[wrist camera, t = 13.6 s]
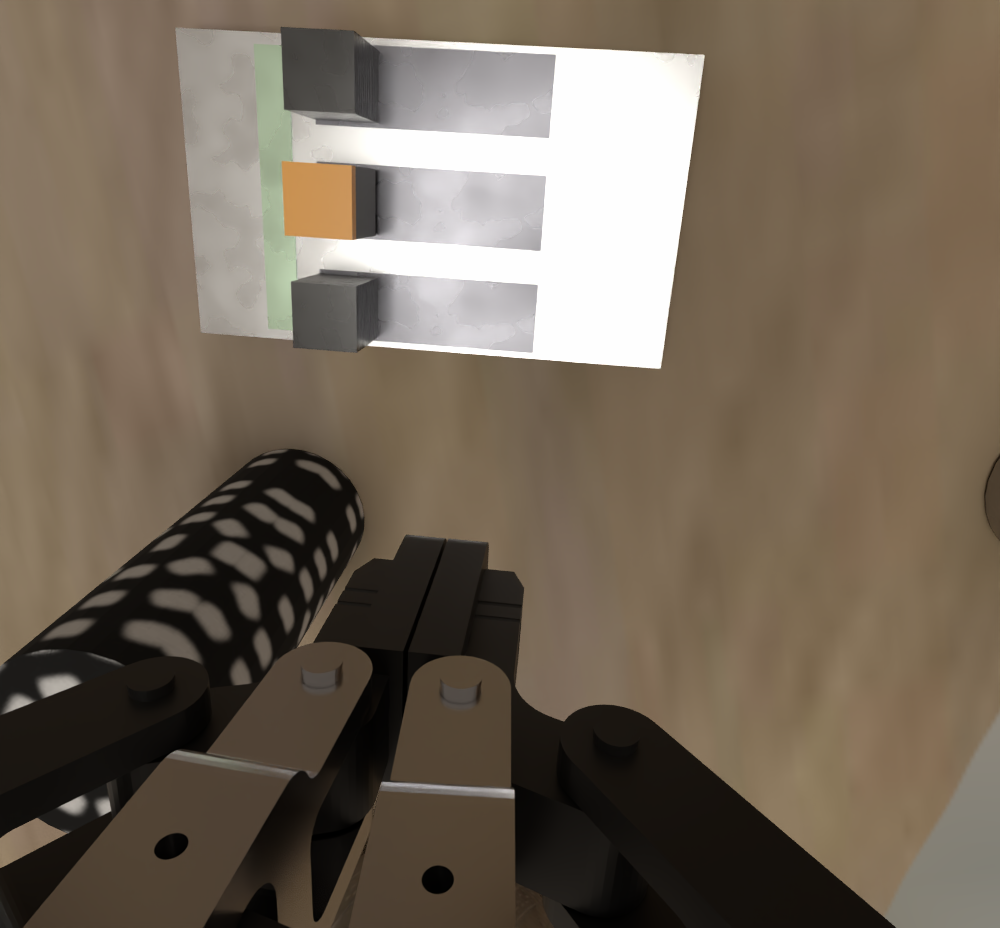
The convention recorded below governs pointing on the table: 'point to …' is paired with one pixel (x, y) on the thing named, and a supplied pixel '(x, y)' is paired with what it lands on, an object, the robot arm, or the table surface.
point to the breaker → (328, 200)
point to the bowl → (528, 905)
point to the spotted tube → (205, 592)
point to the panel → (441, 192)
